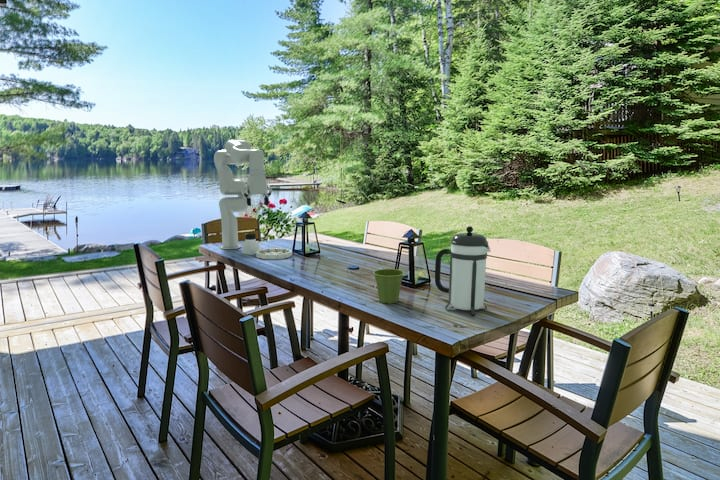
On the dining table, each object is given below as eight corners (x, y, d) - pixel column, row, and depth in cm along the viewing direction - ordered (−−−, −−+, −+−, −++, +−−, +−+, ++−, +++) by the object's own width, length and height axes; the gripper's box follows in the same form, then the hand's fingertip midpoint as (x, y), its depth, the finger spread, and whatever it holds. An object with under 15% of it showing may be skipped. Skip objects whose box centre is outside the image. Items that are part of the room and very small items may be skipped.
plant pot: (384, 294, 173) (385, 267, 171) (410, 300, 165) (410, 271, 163) (366, 301, 164) (366, 272, 162) (392, 307, 156) (392, 277, 154)
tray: (250, 254, 250) (250, 249, 250) (281, 251, 262) (281, 246, 262) (265, 260, 234) (265, 255, 234) (297, 256, 246) (297, 251, 246)
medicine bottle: (259, 253, 256) (259, 233, 254) (250, 255, 250) (250, 234, 248) (251, 251, 259) (250, 232, 257) (242, 253, 253) (241, 233, 251)
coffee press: (479, 302, 163) (483, 223, 158) (493, 316, 148) (498, 229, 143) (433, 302, 163) (436, 223, 158) (442, 316, 147) (446, 229, 142)
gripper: (268, 173, 239) (269, 204, 242) (238, 173, 229) (239, 205, 232) (274, 173, 233) (275, 205, 236) (243, 173, 223) (245, 206, 226)
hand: (257, 205), depth 234 cm, fingers open, 9 cm apart
